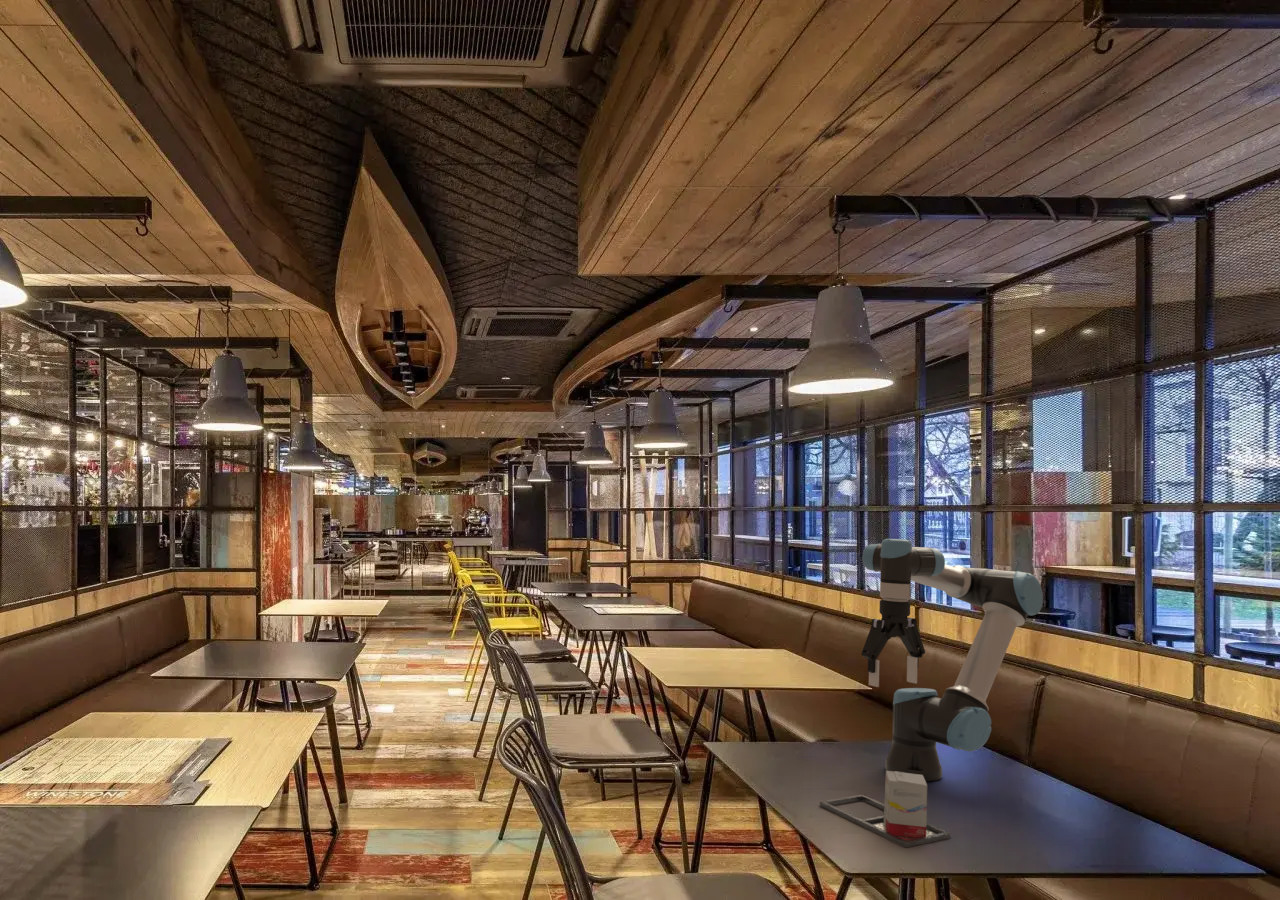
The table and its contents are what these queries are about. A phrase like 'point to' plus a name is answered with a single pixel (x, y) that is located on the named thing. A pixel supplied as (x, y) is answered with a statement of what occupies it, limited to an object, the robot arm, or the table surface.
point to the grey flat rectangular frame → (880, 827)
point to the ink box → (905, 804)
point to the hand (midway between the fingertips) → (893, 684)
